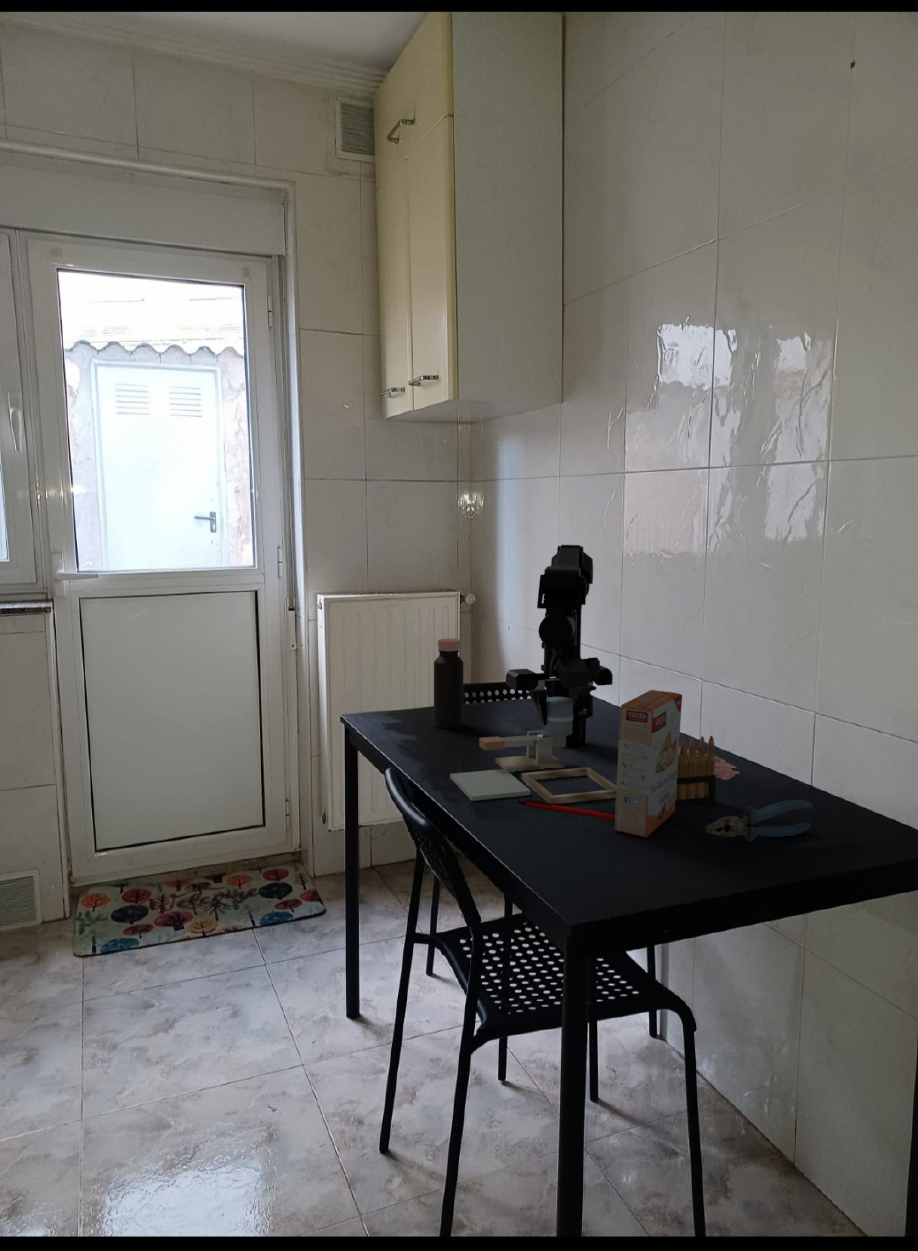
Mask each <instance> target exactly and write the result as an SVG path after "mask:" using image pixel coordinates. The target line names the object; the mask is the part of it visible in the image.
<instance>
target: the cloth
mask: <svg viewBox="0 0 918 1251" xmlns="http://www.w3.org/2000/svg"><path fill="white" fill-rule="evenodd" d="M680 747H681V746H679V753H678V760H679V755H680ZM688 755H689V748H687V760H688ZM697 755H698V750H696V760H697ZM706 755H707V752H705V758H706ZM714 757H715V771H714V775H716V779H722V780H723V781H728V780H731V779H733V778H734V777H736V776H737V775H739V774H740V772H739V771H738V772H737V771H732V769H731V768H737V767H736V766H735V765H732V764H731V763H730V762H727V761H726V760H724V759H723V758H720V757H719V756H715V755H714ZM726 762H727V763H726ZM736 774H737V775H736ZM735 775H736V776H735Z"/></svg>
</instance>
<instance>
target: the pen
mask: <svg viewBox="0 0 918 1251" xmlns="http://www.w3.org/2000/svg"><path fill="white" fill-rule="evenodd" d="M517 803H518V804H521V803H522V805H525V806H531V807H537V808H543V809H547V808H548V810H554V811H558V812H559V811H561V812H566V813H572V814H578V815H585V816H590V817H591V816H592V817H597V818H601V819H607V820H608V819H609V820H614V819H615V814H610V813H602V812H598V811H597V812H596V811H593V810H592V811H591V810H585V809H579V808H573V807H567V806H562V805H557V804H551V803H548V802H546V801H545V802H544V801H537V800H532V799H525V800H524V801H522V800H518V802H517Z"/></svg>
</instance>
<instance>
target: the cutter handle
mask: <svg viewBox="0 0 918 1251" xmlns="http://www.w3.org/2000/svg"><path fill="white" fill-rule="evenodd" d="M544 730H545V729H537V730H536V731H537V735H527V734H526V735H516V736H514V735H513V736H504V737H500V736H487V737H479V745H478V746H479V747H480V748H481V749H482V750H484V751H497V750H505V749H506V748H517V747H527V746H531V745H536V738H542V737H552V738H553V746H552V749H557V748H559V749H560V748H567V747H566V736H552V735H548V734H546V733H545V732H544Z"/></svg>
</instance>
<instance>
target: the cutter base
mask: <svg viewBox="0 0 918 1251" xmlns="http://www.w3.org/2000/svg"><path fill="white" fill-rule="evenodd" d="M526 735H537V730H527V731H526ZM552 746H553V738H552V737H542V738H536V745H531V746H526V755H517V756H507V757H495V758H494V762H495V763H496V764H497V765H498V766H499V767H500V769H506V770H507V771H508V772H510V773H516V772H515V771H521V772H523V771H522V770H532V771H535V770H534V769H543V770H545V769H544V768H553V769H563V768H565V766H566V764H565V762H563V761H562V760H560V758H558V757H557V756H555V755H554V754H553V748H552Z"/></svg>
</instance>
